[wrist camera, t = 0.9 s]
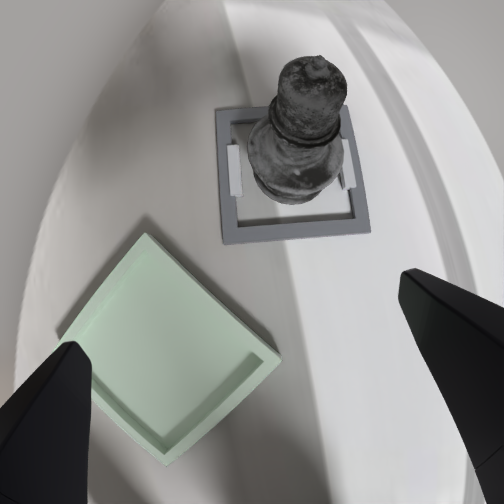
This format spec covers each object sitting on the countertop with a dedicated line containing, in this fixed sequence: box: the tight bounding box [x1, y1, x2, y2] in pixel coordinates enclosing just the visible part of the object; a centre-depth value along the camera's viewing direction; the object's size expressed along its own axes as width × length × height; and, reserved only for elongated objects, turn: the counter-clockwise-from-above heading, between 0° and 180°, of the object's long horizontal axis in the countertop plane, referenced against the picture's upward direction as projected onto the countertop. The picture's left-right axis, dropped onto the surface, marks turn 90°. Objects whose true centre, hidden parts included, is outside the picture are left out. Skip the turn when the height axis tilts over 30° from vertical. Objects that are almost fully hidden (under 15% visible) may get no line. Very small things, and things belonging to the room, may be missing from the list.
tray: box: [52, 232, 282, 467], centre depth 19 cm, size 12×12×2 cm
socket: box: [216, 105, 371, 245], centre depth 21 cm, size 10×10×1 cm
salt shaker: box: [247, 55, 347, 205], centre depth 15 cm, size 6×6×12 cm
